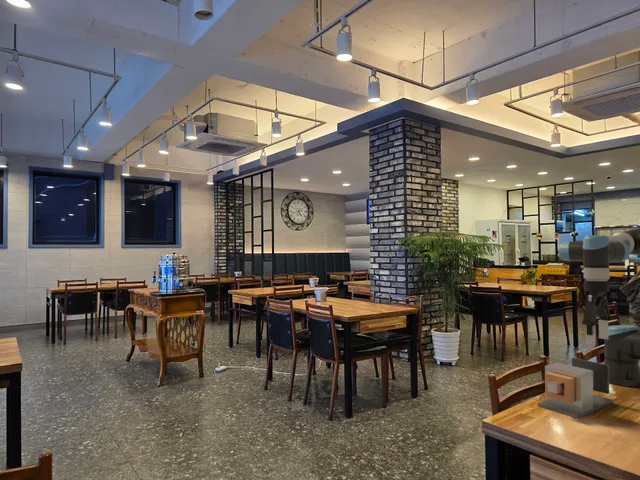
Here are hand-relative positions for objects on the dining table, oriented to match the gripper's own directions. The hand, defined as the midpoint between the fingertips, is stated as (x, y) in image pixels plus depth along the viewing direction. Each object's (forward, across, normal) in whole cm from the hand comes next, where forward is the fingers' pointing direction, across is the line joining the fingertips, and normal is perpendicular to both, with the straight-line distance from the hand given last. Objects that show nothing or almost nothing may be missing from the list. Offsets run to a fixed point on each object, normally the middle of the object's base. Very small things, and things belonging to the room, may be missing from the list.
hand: (597, 341), depth 146 cm
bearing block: (+23, +2, -6) cm, 24 cm away
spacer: (+19, +13, -8) cm, 24 cm away
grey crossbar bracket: (+19, +5, -6) cm, 21 cm away
